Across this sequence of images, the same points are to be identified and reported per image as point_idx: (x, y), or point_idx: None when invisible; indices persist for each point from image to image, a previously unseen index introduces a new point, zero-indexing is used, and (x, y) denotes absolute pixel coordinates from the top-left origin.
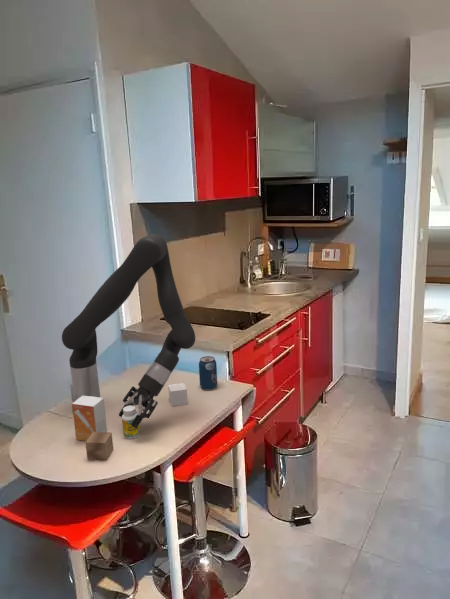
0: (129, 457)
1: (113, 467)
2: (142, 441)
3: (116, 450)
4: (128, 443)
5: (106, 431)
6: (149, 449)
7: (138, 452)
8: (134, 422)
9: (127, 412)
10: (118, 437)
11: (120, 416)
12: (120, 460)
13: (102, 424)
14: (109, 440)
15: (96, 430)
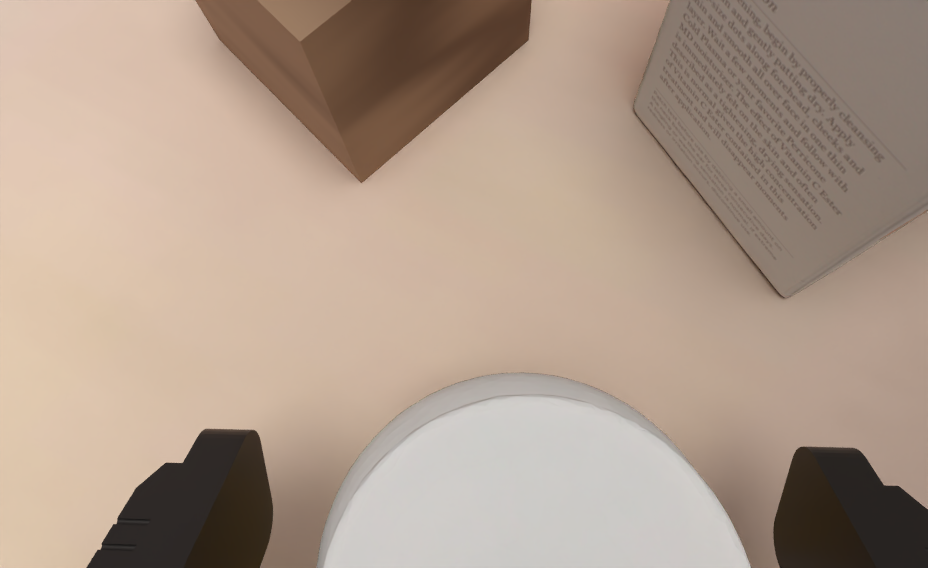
0: (71, 239)
1: (59, 37)
2: None
3: (315, 199)
4: (344, 385)
5: (782, 270)
6: (4, 518)
7: (67, 372)
8: (179, 496)
9: (394, 454)
10: (579, 361)
11: (795, 469)
12: (105, 141)
13: (793, 132)
14: (246, 13)
15: (674, 1)
